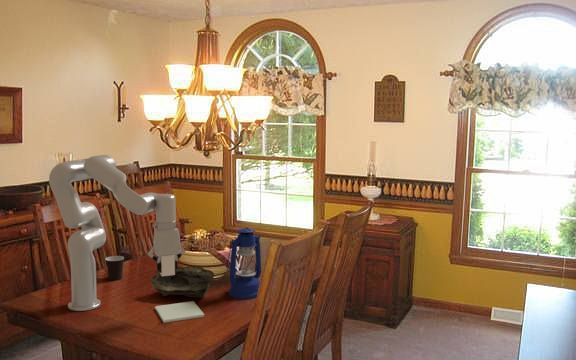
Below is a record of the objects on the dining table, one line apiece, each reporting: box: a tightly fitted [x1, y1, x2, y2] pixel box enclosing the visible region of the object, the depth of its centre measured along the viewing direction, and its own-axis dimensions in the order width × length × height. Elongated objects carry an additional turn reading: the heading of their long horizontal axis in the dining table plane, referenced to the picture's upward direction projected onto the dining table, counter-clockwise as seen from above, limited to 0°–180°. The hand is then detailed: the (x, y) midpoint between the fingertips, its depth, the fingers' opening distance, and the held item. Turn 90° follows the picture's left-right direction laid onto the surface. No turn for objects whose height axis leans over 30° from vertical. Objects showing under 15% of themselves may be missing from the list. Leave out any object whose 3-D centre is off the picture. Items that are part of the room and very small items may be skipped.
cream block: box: [160, 255, 175, 276], centre depth 208 cm, size 5×5×8 cm
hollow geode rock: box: [150, 265, 215, 299], centre depth 233 cm, size 28×13×15 cm
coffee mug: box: [105, 255, 125, 282], centre depth 255 cm, size 12×9×10 cm
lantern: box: [226, 227, 262, 300], centre depth 236 cm, size 17×15×30 cm
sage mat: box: [154, 300, 205, 324], centre depth 213 cm, size 16×16×1 cm
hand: (167, 270), depth 208 cm, fingers closed on cream block, 5 cm apart
